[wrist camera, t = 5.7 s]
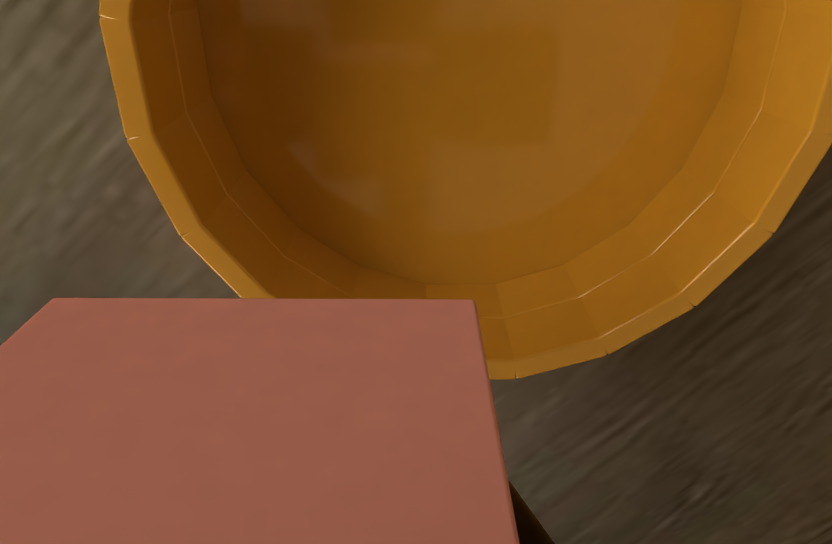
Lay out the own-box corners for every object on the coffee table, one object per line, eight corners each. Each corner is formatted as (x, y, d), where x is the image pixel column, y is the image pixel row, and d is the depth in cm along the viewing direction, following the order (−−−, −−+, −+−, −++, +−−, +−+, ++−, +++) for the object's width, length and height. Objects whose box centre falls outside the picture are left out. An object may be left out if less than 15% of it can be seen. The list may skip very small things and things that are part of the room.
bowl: (828, -324, 12) (1027, -461, 8) (688, 290, 19) (761, 379, 15) (128, -320, 12) (-11, -457, 8) (229, 292, 19) (179, 382, 15)
